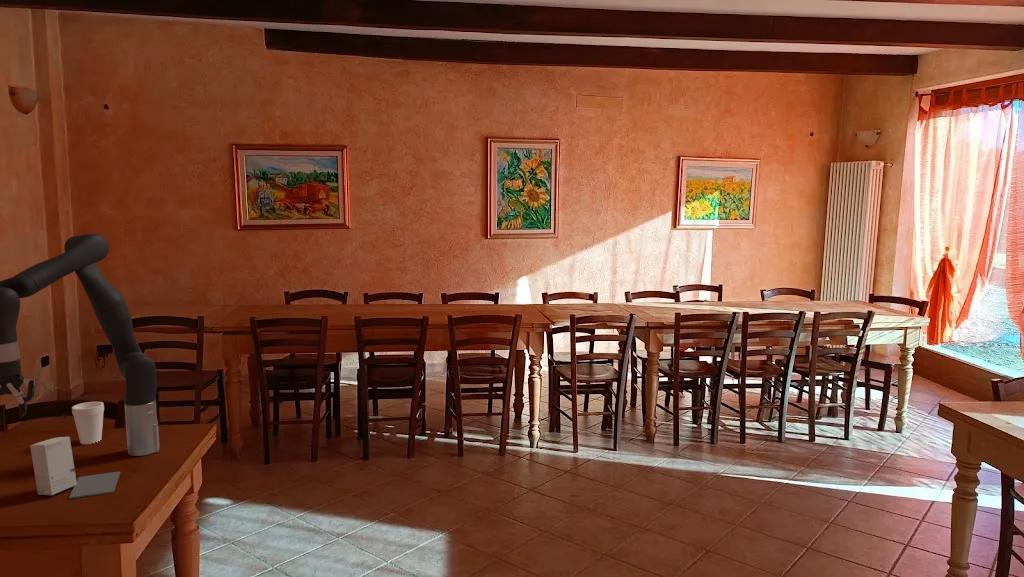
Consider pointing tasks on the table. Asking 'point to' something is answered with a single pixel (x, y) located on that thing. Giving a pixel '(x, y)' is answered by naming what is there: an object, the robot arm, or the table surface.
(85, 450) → the table surface
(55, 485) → the skincare box
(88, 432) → the foam cup
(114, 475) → the flat gray panel
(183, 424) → the table surface
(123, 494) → the table surface
